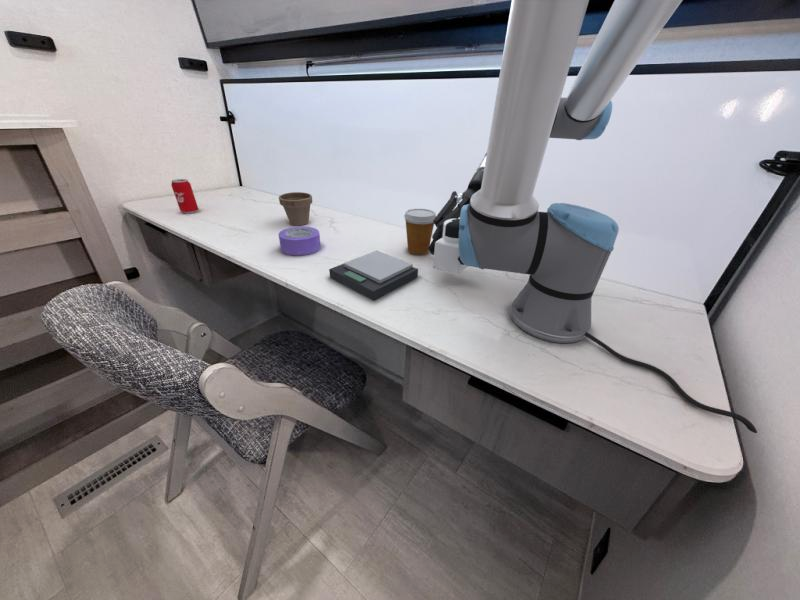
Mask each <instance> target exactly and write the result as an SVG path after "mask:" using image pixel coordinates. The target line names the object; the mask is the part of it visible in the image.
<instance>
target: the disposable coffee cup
mask: <svg viewBox="0 0 800 600" xmlns="http://www.w3.org/2000/svg"><path fill="white" fill-rule="evenodd" d="M436 216H437V214H436V212H435V211H434V210H432V209H427V208H411V209H406V211H405V213H404V214H403V218H404V220H405V230H406V241H407V252H408V253H410V254H411V255H416V256H423V255H427V254H428V253H429V250H428V248H429V246H430V244H431V242H432V236H433V232H434V226H435V224H434V222H433V220H434V219H435V217H436Z"/></svg>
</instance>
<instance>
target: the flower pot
mask: <svg viewBox="0 0 800 600" xmlns="http://www.w3.org/2000/svg"><path fill="white" fill-rule="evenodd" d="M278 202H279V205H280V206H281V207H283V210H284V212H285V214H286V216H287V219H288V222H289V224H290V225H291V226H294V227H299V226H305V225H307V224H309V222H310V211H311V204H313V195H312V194H311V193H307V192H301V191H300V192H299V191H296V192H295V191H293V192H286V193H282V194H280V195H279V196H278Z"/></svg>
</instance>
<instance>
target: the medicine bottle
mask: <svg viewBox="0 0 800 600" xmlns="http://www.w3.org/2000/svg"><path fill="white" fill-rule="evenodd" d="M459 222H460V218H458V219H449V220H446V221H445V222H444V226H443V235H442V238H441V239H439V240H438V241H436V242H435V250H434V255H433V262H432V269H436V270H439V271H442V272H446V273H449V274H453V275H456V276H459V275H460V274H461V273H462V272H463V271H464V270H465V269H467V268H468V266H467V265H465V264H464V265H462V264H460V262H459V261H458V257H459V226H460V225H459Z"/></svg>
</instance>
